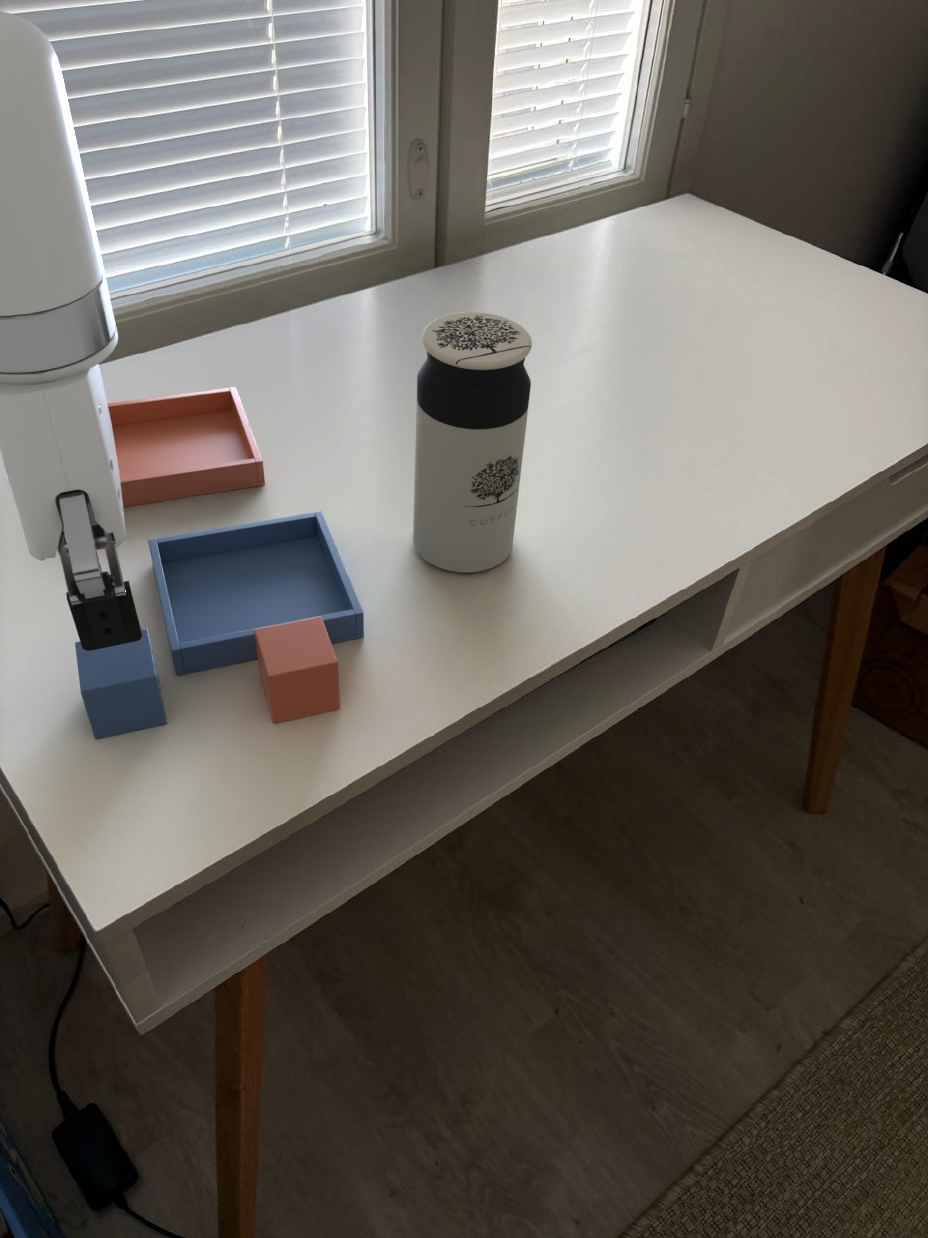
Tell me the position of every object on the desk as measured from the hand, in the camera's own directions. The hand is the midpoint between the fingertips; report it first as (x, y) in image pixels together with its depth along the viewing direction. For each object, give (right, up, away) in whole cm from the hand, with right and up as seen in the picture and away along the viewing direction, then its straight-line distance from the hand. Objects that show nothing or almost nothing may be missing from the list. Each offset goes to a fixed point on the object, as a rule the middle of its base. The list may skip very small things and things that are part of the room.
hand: (104, 586), depth 59 cm
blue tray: (+6, 0, +15) cm, 16 cm away
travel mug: (+21, +4, +21) cm, 30 cm away
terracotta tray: (-4, +12, +28) cm, 31 cm away
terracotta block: (+10, -7, +9) cm, 15 cm away
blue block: (-1, -8, +7) cm, 10 cm away
